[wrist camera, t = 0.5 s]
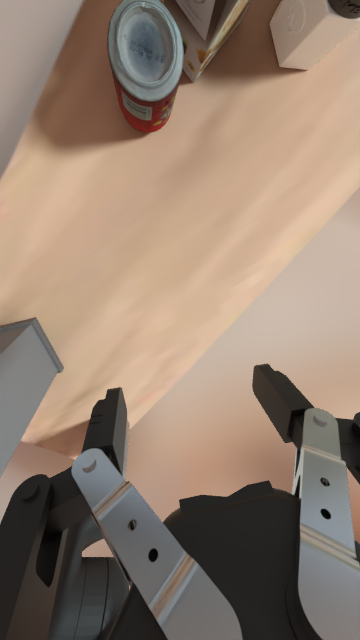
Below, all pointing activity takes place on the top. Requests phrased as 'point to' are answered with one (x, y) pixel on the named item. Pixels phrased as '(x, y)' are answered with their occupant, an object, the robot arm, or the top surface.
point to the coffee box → (205, 28)
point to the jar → (311, 29)
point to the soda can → (145, 61)
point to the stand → (22, 380)
